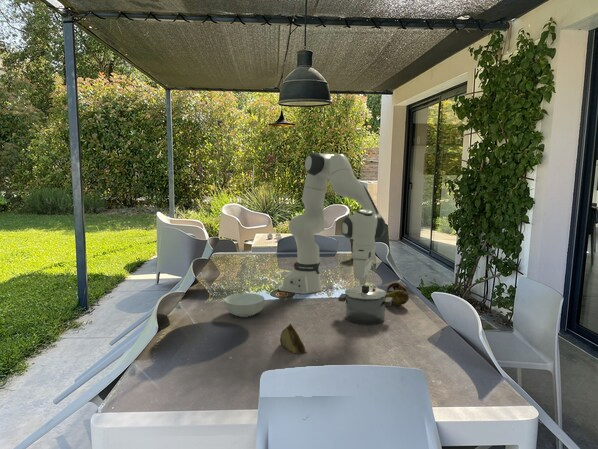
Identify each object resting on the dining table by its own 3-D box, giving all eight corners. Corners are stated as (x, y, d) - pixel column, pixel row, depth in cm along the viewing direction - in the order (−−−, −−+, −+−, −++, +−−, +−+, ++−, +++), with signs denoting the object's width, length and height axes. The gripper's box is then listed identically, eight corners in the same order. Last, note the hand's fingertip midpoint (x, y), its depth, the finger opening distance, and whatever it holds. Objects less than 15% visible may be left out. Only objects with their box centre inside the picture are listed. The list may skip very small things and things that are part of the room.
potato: (399, 300, 209) (400, 284, 208) (411, 309, 196) (411, 291, 195) (382, 301, 207) (383, 285, 206) (393, 310, 195) (393, 292, 194)
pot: (335, 321, 181) (335, 298, 180) (344, 308, 197) (344, 287, 196) (388, 327, 174) (389, 303, 173) (393, 313, 191) (393, 291, 190)
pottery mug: (411, 301, 210) (404, 287, 207) (392, 309, 212) (385, 295, 209) (406, 288, 221) (399, 275, 218) (388, 295, 223) (381, 282, 220)
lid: (341, 297, 179) (341, 289, 178) (349, 287, 195) (349, 280, 194) (383, 301, 173) (383, 292, 173) (388, 290, 190) (388, 282, 189)
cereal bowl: (232, 323, 180) (231, 306, 179) (219, 311, 194) (219, 296, 194) (270, 316, 188) (270, 300, 187) (256, 306, 202) (255, 290, 201)
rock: (272, 337, 159) (274, 344, 149) (286, 317, 160) (289, 323, 150) (296, 354, 160) (300, 362, 150) (310, 334, 161) (315, 341, 151)
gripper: (360, 245, 188) (359, 277, 190) (350, 255, 169) (350, 290, 171) (375, 246, 186) (374, 278, 188) (367, 256, 167) (366, 291, 169)
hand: (362, 284), depth 180 cm, fingers closed
